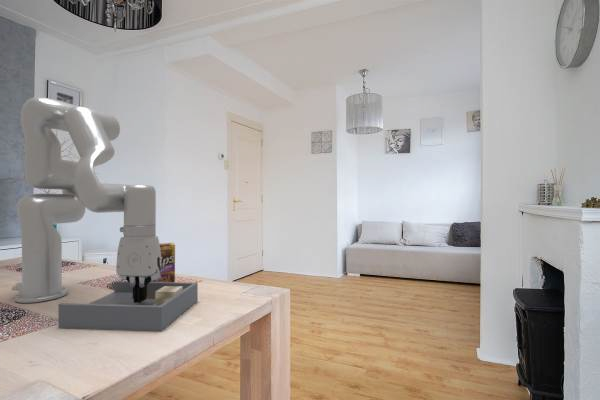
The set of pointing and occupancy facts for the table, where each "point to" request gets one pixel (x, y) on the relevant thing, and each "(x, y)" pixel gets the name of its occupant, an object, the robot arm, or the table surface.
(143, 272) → the robot arm
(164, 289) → the birch block
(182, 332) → the table surface
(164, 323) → the box
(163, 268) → the candy box
